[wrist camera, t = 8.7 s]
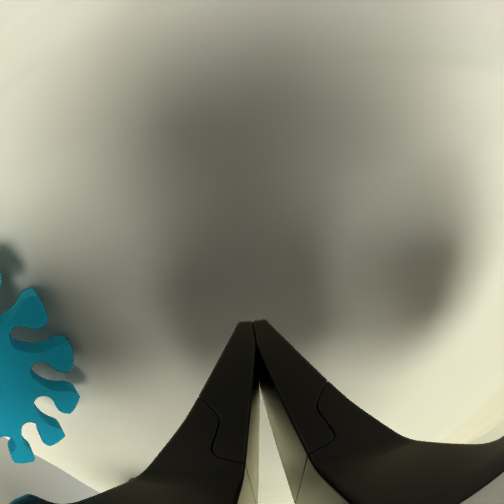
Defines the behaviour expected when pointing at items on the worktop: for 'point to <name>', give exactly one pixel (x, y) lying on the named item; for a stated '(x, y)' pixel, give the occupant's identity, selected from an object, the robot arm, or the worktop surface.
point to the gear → (31, 377)
